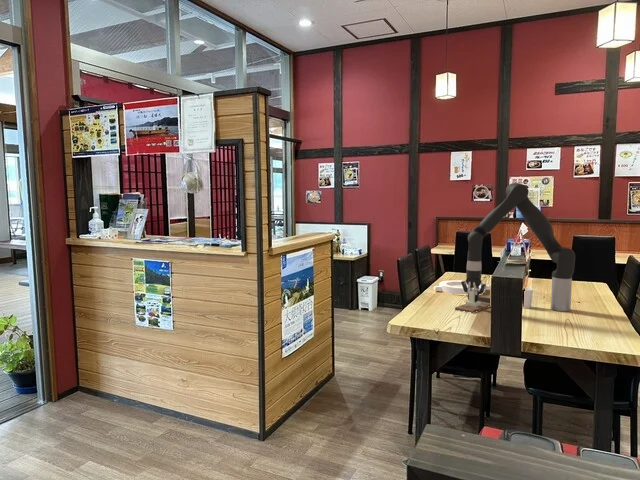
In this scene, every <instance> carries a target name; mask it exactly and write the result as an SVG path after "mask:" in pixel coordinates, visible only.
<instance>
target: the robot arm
mask: <svg viewBox="0 0 640 480" xmlns="http://www.w3.org/2000/svg"><path fill="white" fill-rule="evenodd" d="M529 192H530V191H529V188H528V187H527V186H526V185H525V184H523V183H519V182H512V183H510V184H508V185H507V187H506V189H505V194H506V195H505V196H506V197H505V198H504V200H503V201H502V202H501V203H500V204H499V205H497V206H496V207H495V208H494V209H492V210H491V211H490V212H489V213H488V214H487V215H486V216H485V217H484V218H483V219H482V220H481V221H480V223H478V225H476V227H474V228H473V229H472V230H471V231H470V232H469V234H468V235H467V242H468V251H467V255H466V256H467V258H466V259H467V262H466V274H465V275H466V277H465V278H466V279H465V280H462V282H461V284H462V286H463V289H464V292H467V293H468V296H467V301H469V291H470V290H472V289H473V288H474V291H475V302H477V301H478V300H479V296H480V295H479V294H482V293H483V291H484V289H485V287H486V285H487V284H486V283H483V282H482V266H483V265H482V249H483V239H484V238H485V237H486V236H487V235H488V234H489V233H490V232H492V231H493V229H494V228H495V227H496V226H497V225H498V224H500V222H501V221H502V220H503V219H504V218H505V217H506V216H507V215H508V214H509V213H510V212H511V211H512V210H513V209H514V208H515V207H516V208H517V210H518V211H519V212H520V214H521V216H522V218H523V219H524V221H525V223H526V224H527V225H528V227H529V228H530V230H531V231H532V232H533V234H534V235H535V236H536V238H537V239H538V241H539V242H540V243H541V244H542V246H543V247H544V249H545V251H546V252H547V254H548V257H549V258H550V260H551V261H552V262H553V263H555V264H556V269H555V270H553V271H552V273H551V297H550V310H553V311H557V312H570V311H571V307H572V306H571V304H572V288H573V287H572V286H573V285H572V284H573V281H572V280H573V274H574V273H575V266H576V254H575V253H576V252H574V250H573V249H572V248H569V247H566V246H565V247H564V246H562V245H561V243H559V241H558V240H557V239H556V237H555V234H554V230H553V226H552V223H551V222H550V220H549V219H548V218H547V217H546V215H545V214H544V212H542V211H541V210H540V209H539V208H538V207H537V206H536V205H535V204H534V203H533V202H532V201H531V199H530V198H529ZM466 284H468V288H467V285H466ZM480 284H481V289H480V291H479V286H480ZM482 295H483V294H482Z"/></svg>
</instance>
